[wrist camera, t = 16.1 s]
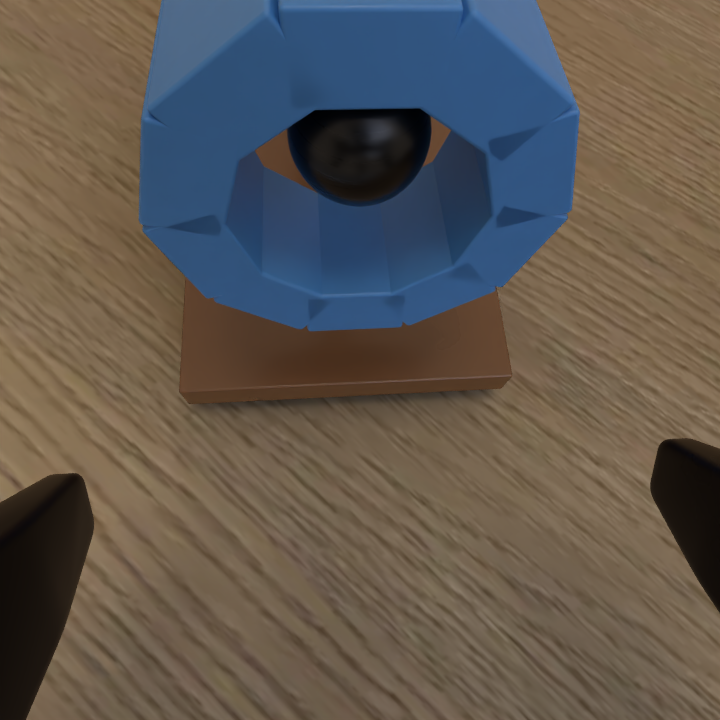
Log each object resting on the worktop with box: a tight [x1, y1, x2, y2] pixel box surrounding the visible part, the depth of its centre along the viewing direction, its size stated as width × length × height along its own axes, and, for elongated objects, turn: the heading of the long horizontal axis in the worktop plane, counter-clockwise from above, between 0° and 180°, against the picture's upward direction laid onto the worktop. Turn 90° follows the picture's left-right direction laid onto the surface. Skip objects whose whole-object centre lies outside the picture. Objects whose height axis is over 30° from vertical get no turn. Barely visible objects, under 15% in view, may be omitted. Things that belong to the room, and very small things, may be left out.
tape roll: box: [139, 0, 580, 331], centre depth 10 cm, size 3×8×7 cm, turn 94°
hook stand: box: [179, 108, 512, 404], centre depth 15 cm, size 15×10×11 cm, turn 4°
